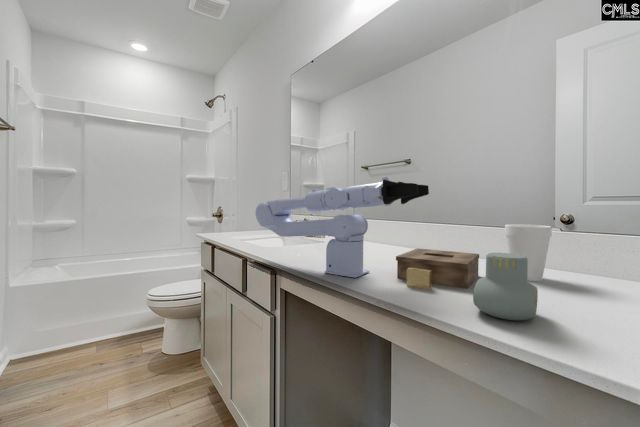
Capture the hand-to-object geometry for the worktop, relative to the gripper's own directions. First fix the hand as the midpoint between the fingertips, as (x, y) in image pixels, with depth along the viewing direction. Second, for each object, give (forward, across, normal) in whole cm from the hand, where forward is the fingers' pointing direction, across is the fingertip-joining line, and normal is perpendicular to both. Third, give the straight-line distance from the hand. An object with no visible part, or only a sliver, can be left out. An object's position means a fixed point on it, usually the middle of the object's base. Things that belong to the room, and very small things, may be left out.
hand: (423, 189), depth 68 cm
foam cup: (+17, +22, +24) cm, 36 cm away
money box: (-1, +10, +22) cm, 24 cm away
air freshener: (+15, -10, +23) cm, 30 cm away
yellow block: (-2, -2, +22) cm, 22 cm away
